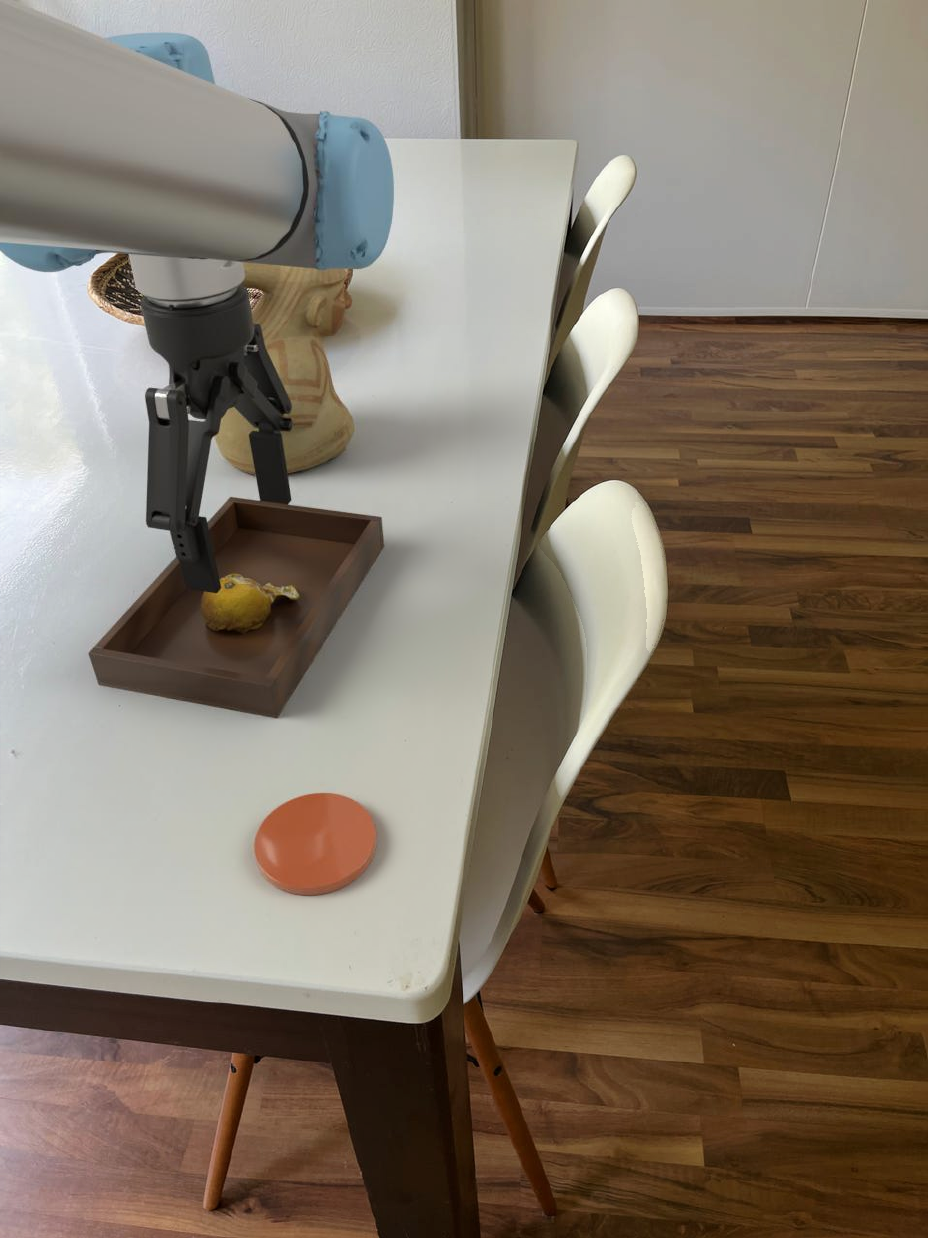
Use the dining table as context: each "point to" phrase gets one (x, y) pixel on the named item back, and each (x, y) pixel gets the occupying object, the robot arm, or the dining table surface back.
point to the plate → (315, 844)
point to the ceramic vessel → (296, 364)
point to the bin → (259, 658)
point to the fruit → (240, 603)
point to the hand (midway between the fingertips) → (242, 542)
